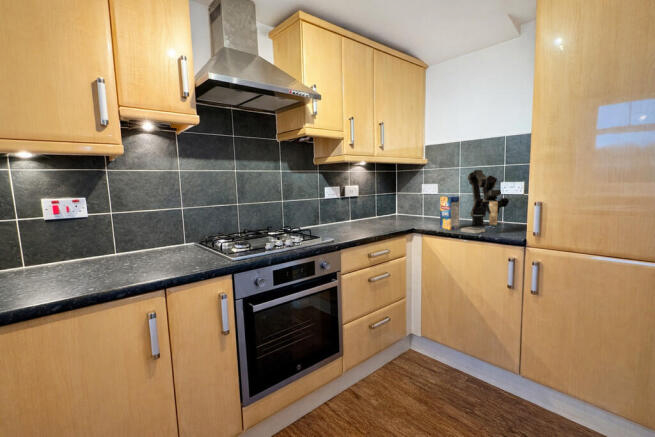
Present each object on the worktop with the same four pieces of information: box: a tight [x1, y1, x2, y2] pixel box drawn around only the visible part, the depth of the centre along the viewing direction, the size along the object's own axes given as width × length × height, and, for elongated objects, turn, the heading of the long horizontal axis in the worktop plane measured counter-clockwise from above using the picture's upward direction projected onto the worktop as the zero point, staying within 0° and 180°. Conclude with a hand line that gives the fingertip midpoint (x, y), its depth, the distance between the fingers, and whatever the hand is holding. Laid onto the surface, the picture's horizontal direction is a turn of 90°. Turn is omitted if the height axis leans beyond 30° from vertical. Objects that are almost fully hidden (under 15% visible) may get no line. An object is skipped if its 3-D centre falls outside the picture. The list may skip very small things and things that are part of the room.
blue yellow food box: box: [439, 195, 461, 231], centre depth 206 cm, size 7×11×22 cm, turn 16°
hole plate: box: [460, 226, 486, 234], centre depth 193 cm, size 10×10×2 cm
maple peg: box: [488, 200, 498, 226], centre depth 186 cm, size 4×4×14 cm
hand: (494, 213), depth 184 cm, fingers closed on maple peg, 4 cm apart
